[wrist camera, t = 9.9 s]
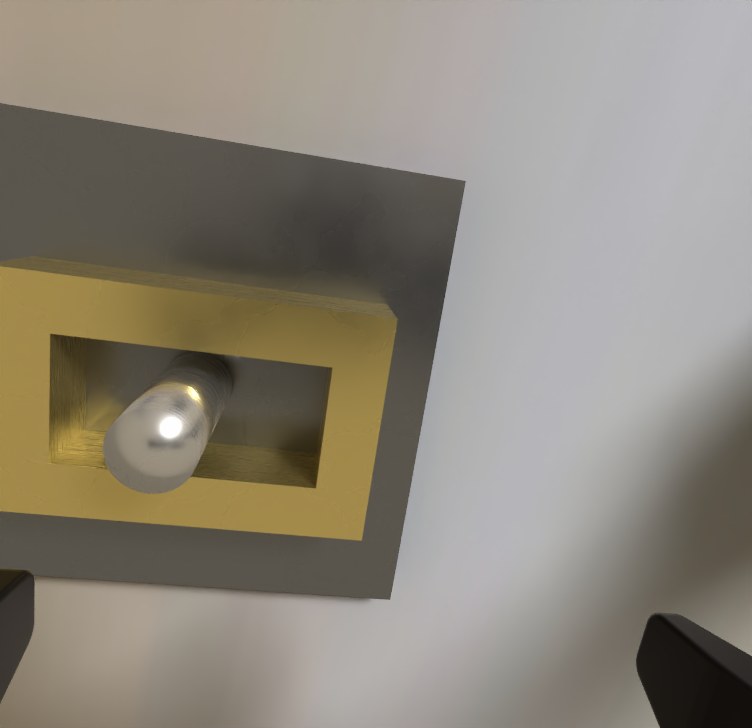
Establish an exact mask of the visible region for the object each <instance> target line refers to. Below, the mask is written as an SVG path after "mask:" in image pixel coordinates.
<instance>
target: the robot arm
mask: <svg viewBox="0 0 752 728" xmlns="http://www.w3.org/2000/svg"><path fill="white" fill-rule="evenodd" d="M33 628H34V577H33V574H32V573H31V572H30V571H29V570H19V569H5V568H1V569H0V703H1V701H2V699H3V697H4V694H5V692H6V690H7V688H8V686H9V684H10V682H11V680H12V678H13V675H14V673H15V671H16V669H17V667H18V665H19V663H20V661H21V659H22V656H23V654H24V652H25V650H26V648H27V646H28V644H29V641H30V639H31V636H32V632H33ZM636 666H637V672H638V675H639V678H640V680H641V683H642V685H643V687H644V690H645V692H646V695H647V697H648V700H649V702H650V705H651V707H652V709H653V712H654V714H655V717H656V719H657V722H658V724H659V726H660V728H752V656H750V655H749V654H747V653H745V652H744V651H742V650H740V649H738V648H737V647H735V646H733V645H731V644H730V643H728V642H726V641H725V640H723V639H721V638H719V637H718V636H716V635H714V634H712V633H711V632H709V631H707V630H706V629H704V628H702V627H700V626H699V625H697V624H695V623H693V622H692V621H690V620H688V619H687V618H685V617H683V616H681V615H678V614H667V613H655V614H652V615H651V616H650V617H649V619H648V621H647V624H646V627H645V630H644V634H643V637H642V640H641V643H640V647H639V650H638V653H637V657H636Z"/></svg>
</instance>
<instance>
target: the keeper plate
mask: <svg viewBox="0 0 752 728" xmlns="http://www.w3.org/2000/svg"><path fill="white" fill-rule="evenodd" d="M464 187H465V181H462V180H456V179H450V178H444V177H438V176H432V175H426V174H420V173H414V172H408V171H402V170H396V169H390V168H384V167H378V166H372V165H366V164H360V163H354V162H348V161H342V160H336V159H330V158H324V157H318V156H312V155H306V154H300V153H294V152H288V151H282V150H276V149H270V148H264V147H258V146H253V145H247V144H241V143H235V142H229V141H223V140H217V139H211V138H205V137H199V136H193V135H187V134H181V133H175V132H169V131H163V130H157V129H151V128H145V127H139V126H133V125H127V124H121V123H115V122H109V121H103V120H97V119H91V118H85V117H79V116H73V115H67V114H61V113H55V112H49V111H43V110H37V109H31V108H26V107H20V106H14V105H8V104H2V103H0V261H5V260H12V259H18V258H24V257H30V256H35V257H43V258H50V259H57V260H65V261H72V262H79V263H87V264H94V265H101V266H109V267H116V268H123V269H131V270H138V271H145V272H153V273H160V274H167V275H175V276H182V277H189V278H197V279H204V280H211V281H219V282H226V283H233V284H240V285H248V286H255V287H262V288H270V289H277V290H284V291H292V292H299V293H306V294H314V295H321V296H328V297H336V298H343V299H350V300H358V301H365V302H372V303H380V304H387V305H388V306H389V308H390V309H391V311H392V312H393V313H394V315H395V316H396V318H397V319H398V320H397V327H396V333H395V339H394V345H393V351H392V357H391V364H390V370H389V376H388V382H387V388H386V394H385V400H384V407H383V413H382V419H381V425H380V431H379V437H378V444H377V450H376V456H375V462H374V468H373V474H372V481H371V487H370V493H369V499H368V505H367V511H366V517H365V524H364V530H363V536H362V541H360V540H347V539H335V538H323V537H311V536H298V535H286V534H274V533H262V532H249V531H237V530H225V529H213V528H200V527H188V526H176V525H163V524H151V523H139V522H127V521H114V520H102V519H90V518H78V517H65V516H53V515H41V514H28V513H16V512H4V511H0V569H1V568H5V569H19V570H29V571H30V572H31V573H32V574H33V575H34V576H49V577H64V578H79V579H93V580H108V581H123V582H138V583H152V584H167V585H182V586H197V587H211V588H226V589H241V590H256V591H270V592H285V593H300V594H315V595H329V596H344V597H359V598H374V599H388V600H390V597H391V592H392V586H393V581H394V575H395V570H396V564H397V558H398V553H399V547H400V542H401V536H402V531H403V525H404V520H405V514H406V509H407V503H408V497H409V492H410V486H411V481H412V475H413V470H414V464H415V459H416V453H417V448H418V442H419V436H420V431H421V425H422V420H423V414H424V409H425V403H426V398H427V392H428V387H429V381H430V375H431V370H432V364H433V359H434V353H435V348H436V342H437V337H438V331H439V326H440V320H441V314H442V309H443V303H444V298H445V292H446V287H447V281H448V276H449V270H450V265H451V259H452V253H453V248H454V242H455V237H456V231H457V226H458V220H459V215H460V209H461V204H462V198H463V192H464ZM327 371H328V367H323V366H315V365H306V364H298V363H290V362H282V361H273V360H265V359H257V358H248V357H240V356H232V355H223V354H215V353H207V352H199V351H190V350H182V349H174V348H165V347H157V346H149V345H140V344H132V343H124V342H116V341H107V340H99V339H91V338H87V372H86V408H85V430H91V431H101V432H107V433H106V435H105V438H104V441H103V456H104V460H105V463H106V465H107V467H108V469H109V471H110V472H111V474H112V475H113V476H114V477H115V478H116V479H117V480H118V481H119V482H120V483H121V484H123V485H124V486H126V487H128V488H130V489H132V490H134V491H137V492H141V493H147V494H160V493H165V492H169V491H172V490H174V489H176V488H178V487H179V486H181V485H183V484H184V483H185V482H186V481H187V480H188V479H189V478H190V477H191V475H192V474H193V472H194V470H195V468H196V466H197V464H198V462H199V459H200V457H201V455H202V453H203V451H204V449H205V447H206V445H207V443H208V442H211V443H221V444H231V445H241V446H251V447H261V448H270V449H280V450H290V451H300V452H310V453H317V446H318V438H319V431H320V423H321V416H322V408H323V401H324V394H325V386H326V379H327Z"/></svg>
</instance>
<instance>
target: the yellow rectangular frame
mask: <svg viewBox="0 0 752 728" xmlns="http://www.w3.org/2000/svg"><path fill="white" fill-rule="evenodd" d="M397 320H398V319H397V318H396V316H395V315H394V313H393V312H392V311H391V309H390V308H389V306H388V305H387V304H380V303H372V302H365V301H358V300H350V299H343V298H336V297H328V296H321V295H314V294H306V293H299V292H292V291H284V290H277V289H270V288H262V287H255V286H248V285H240V284H233V283H226V282H219V281H211V280H204V279H197V278H189V277H182V276H175V275H167V274H160V273H153V272H145V271H138V270H131V269H123V268H116V267H109V266H101V265H94V264H87V263H79V262H72V261H65V260H57V259H50V258H43V257H35V256H30V257H24V258H18V259H12V260H5V261H0V511H4V512H16V513H28V514H41V515H53V516H65V517H78V518H90V519H102V520H114V521H127V522H139V523H151V524H163V525H176V526H188V527H200V528H213V529H225V530H237V531H249V532H262V533H274V534H286V535H298V536H311V537H323V538H335V539H347V540H360V541H362V536H363V530H364V524H365V517H366V511H367V505H368V499H369V493H370V487H371V481H372V474H373V468H374V462H375V456H376V450H377V444H378V437H379V431H380V425H381V419H382V413H383V407H384V400H385V394H386V388H387V382H388V376H389V370H390V364H391V357H392V351H393V345H394V339H395V333H396V327H397ZM87 338H91V339H99V340H107V341H116V342H124V343H132V344H140V345H149V346H157V347H165V348H174V349H182V350H190V351H199V352H207V353H215V354H223V355H232V356H240V357H248V358H257V359H265V360H273V361H282V362H290V363H298V364H306V365H315V366H323V367H328V371H327V379H326V386H325V394H324V401H323V408H322V416H321V423H320V431H319V438H318V446H317V453H310V452H300V451H290V450H280V449H270V448H261V447H251V446H241V445H231V444H221V443H211V442H208V443H207V445H206V447H205V449H204V451H203V453H202V455H201V457H200V459H199V462H198V464H197V466H196V468H195V470H194V472H193V474H192V475H191V477H190V478H189V479H188V480H187V481H186V482H185V483H184V484H183V485H181V486H179V487H178V488H176V489H174V490H172V491H169V492H165V493H160V494H147V493H141V492H137V491H134V490H132V489H130V488H128V487H126V486H124V485H123V484H121V483H120V482H119V481H118V480H117V479H116V478H115V477H114V476H113V475H112V474H111V472H110V471H109V469H108V467H107V465H106V463H105V460H104V456H103V441H104V438H105V435H106V433H107V432H101V431H91V430H85V408H86V372H87Z"/></svg>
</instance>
